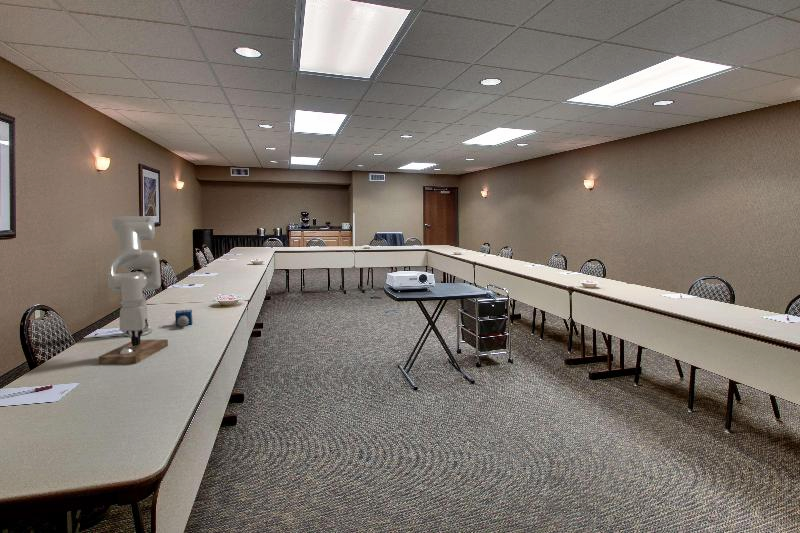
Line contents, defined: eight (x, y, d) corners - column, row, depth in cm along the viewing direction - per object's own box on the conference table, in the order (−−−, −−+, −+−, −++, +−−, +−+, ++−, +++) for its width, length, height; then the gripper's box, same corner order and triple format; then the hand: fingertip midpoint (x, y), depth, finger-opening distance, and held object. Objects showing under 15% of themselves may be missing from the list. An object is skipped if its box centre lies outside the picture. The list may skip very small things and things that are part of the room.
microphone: (192, 305, 250) (190, 314, 227) (193, 318, 250) (191, 328, 228) (178, 306, 247) (173, 315, 224) (179, 319, 247) (174, 330, 225)
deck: (99, 363, 173) (98, 356, 172) (135, 346, 197) (135, 339, 196) (136, 363, 173) (135, 356, 172) (168, 345, 197) (167, 339, 196)
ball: (114, 357, 175) (120, 345, 178) (122, 361, 179) (127, 349, 182) (126, 357, 175) (131, 346, 177) (133, 361, 179) (138, 350, 181)
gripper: (109, 305, 179) (113, 348, 181) (145, 305, 179) (148, 347, 181) (121, 302, 187) (124, 342, 189) (155, 302, 187) (158, 342, 189)
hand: (136, 345), depth 185 cm, fingers closed
